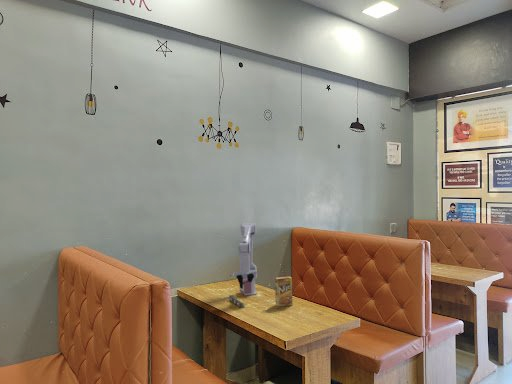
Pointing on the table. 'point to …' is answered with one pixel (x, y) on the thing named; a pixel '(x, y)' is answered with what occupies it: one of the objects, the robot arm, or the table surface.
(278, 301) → the candy box
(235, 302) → the price rail
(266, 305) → the table surface
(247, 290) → the carton
